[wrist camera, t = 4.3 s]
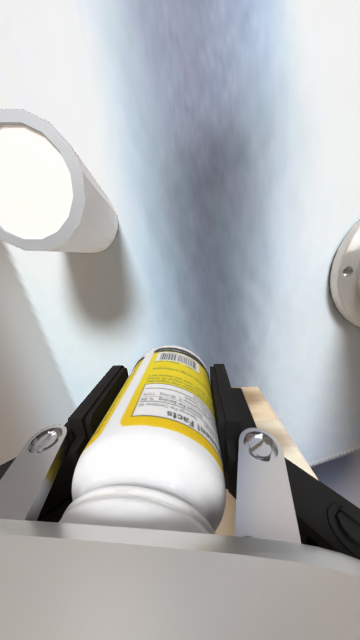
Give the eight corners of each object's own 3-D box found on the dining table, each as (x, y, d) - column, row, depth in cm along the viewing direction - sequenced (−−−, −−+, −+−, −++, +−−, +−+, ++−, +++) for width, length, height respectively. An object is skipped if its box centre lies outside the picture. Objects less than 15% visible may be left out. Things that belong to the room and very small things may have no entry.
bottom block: (257, 386, 21) (279, 420, 16) (253, 434, 22) (272, 477, 18) (197, 387, 21) (201, 422, 16) (198, 435, 23) (202, 478, 18)
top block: (279, 420, 16) (321, 484, 11) (272, 477, 18) (305, 555, 13) (201, 421, 16) (209, 485, 11) (202, 478, 18) (209, 554, 13)
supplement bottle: (156, 417, 12) (81, 708, 4) (121, 361, 11) (-70, 598, 3) (221, 394, 11) (291, 710, 3) (189, 330, 10) (171, 556, 2)
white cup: (92, 160, 15) (20, 69, 8) (139, 232, 17) (109, 205, 10) (35, 209, 16) (-69, 163, 10) (84, 273, 18) (23, 274, 11)
